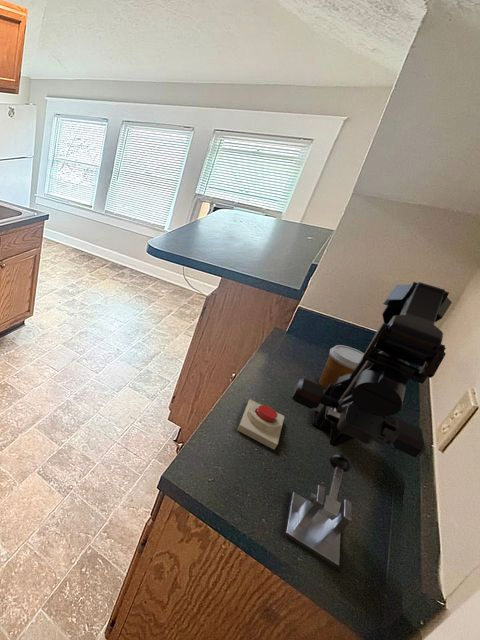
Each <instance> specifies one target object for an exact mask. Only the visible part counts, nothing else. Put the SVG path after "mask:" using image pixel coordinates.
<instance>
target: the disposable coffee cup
mask: <svg viewBox="0 0 480 640" xmlns="http://www.w3.org/2000/svg"><path fill="white" fill-rule="evenodd" d="M364 353H365V352H362V351H360V350H359V349H356V348H354V347H351V346H348V345H343V344H336V345H335V346H333V347H331V348H330V349H329V355H328V358H327V360H326V361H325V362H326V363H325V365H324V368H323V370H322V372H321V375H320V377H319V379H318V383H319V385H321V386H323V387H324V390H326V388H327V387H328V386H329V385H330V383H332V384H335V382H336V381H337V379H338V378H339V377H341V376H344V375H347V374H351V373H352V372H353V371H354V369H355V368H356V366H357V365H358V363H359V362H360V360H361V359H362V357H363V355H364Z"/></svg>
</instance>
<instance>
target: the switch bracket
mask: <svg viewBox="0 0 480 640" xmlns="http://www.w3.org/2000/svg"><path fill="white" fill-rule="evenodd" d="M325 489H326V488H325V487H324V486H322V485H320V484H318V485H317V486H316V488H315V489H314V490H313V491H312V493H310V494H309V495H308V498H305V497H304V496H301V495H299V494H298V493H297V492H294V491H292V493H291V495H290V501H289V506H288V512H287V518H286V523H285V530H284V536H285V537H287V538H288V539H291V540H292V541H294V543H296V544H298V545H299V546H302V547H303V548H305V549H306V550H307V551H309V552H311V553H313V554H314V555H315V556H317V557H318V558H320V559H322V560H323V561H325V562H327V564H330V565H331V566H333V567H335V568H336V569H337V568H338V567H340V559H341V558H340V556H341V555H340V554H341V552H340V551H341V533H342V531H343V530H345V528H346V527H347V526H348V524H350V523H351V521H352V519H353V517H352V501H349V500H348V499H343V501H342V502H340V503H341V506H340V511H339V515H338V517H337V518H335V519H333V520H331V519H329V518H327V517H326V516H324V515H322V514H320V513H319V512H318V511H319V509H320V508H321V507H322V506H323V503H324V497H325V492H326V491H325Z"/></svg>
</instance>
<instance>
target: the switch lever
mask: <svg viewBox="0 0 480 640" xmlns="http://www.w3.org/2000/svg"><path fill="white" fill-rule="evenodd" d="M329 464H330V465H331V467H332V468H333V473H332V475H331V481H330V484H329V487H328V492H327V494H326V495H324V503H323V506H322V507H321V508H320V509H319V511H318V512H319V513H320V514H322V515H324V516H326V517H327V518H329V519H331V520H333V519H335V518H337V517H338V515H339V511H340V506H341V503H342V502H341V501H338V495H339V490H340V487H341V482H342V477H343V473H347V472H349V471H351V469H352V462H351V460H350V459H349V458H348V457H347V456H346V455H343V454H340V453H335V454H333V455H331V456H330V458H329Z"/></svg>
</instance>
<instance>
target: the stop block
mask: <svg viewBox="0 0 480 640" xmlns="http://www.w3.org/2000/svg"><path fill="white" fill-rule="evenodd" d="M245 405H246V406H245V408H244V410H243V414H242V416H241V418H240V421H239V424H238V427H237V431H238V432H240V433H242V434H243V435H245V436H247V437H249V438H251V439H253V440H255V441H257V442H259V443H260V444H263V445H264V446H266V447H268V448H269V449H272V450H273V451H274V450H276V448H277V446H278V445H279V441H280V437H281V433H282V430H283V429H282V428H283V425H284V420H285V415H283V414H281V413H280V412H276V411H275V412H276V413H277V418H276V419H275V421H274V422H272V423H270V422H266V421H264V420H262V419H261V418H260V417H258V416H257V414H256V411H257V409H258V407H259V406H261V405H262V404H261V403H258V402H256V401H255V400H253V399H250V398H249V399H248V402H247V403H246V404H245Z"/></svg>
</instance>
